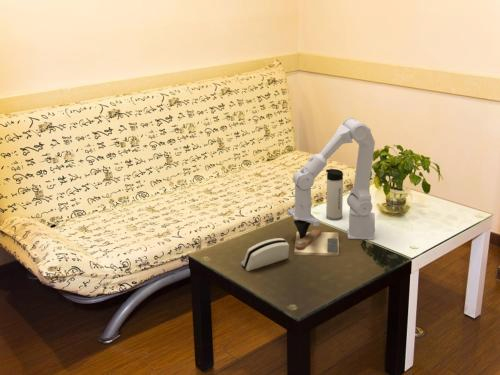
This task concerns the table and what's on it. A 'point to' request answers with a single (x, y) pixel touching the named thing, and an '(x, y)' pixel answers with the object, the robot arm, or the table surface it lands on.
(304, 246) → the link
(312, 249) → the latch board
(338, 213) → the travel mug
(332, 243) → the keeper
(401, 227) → the table surface
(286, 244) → the white pencil case
